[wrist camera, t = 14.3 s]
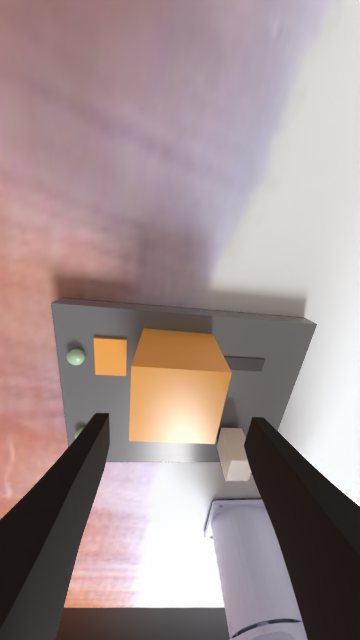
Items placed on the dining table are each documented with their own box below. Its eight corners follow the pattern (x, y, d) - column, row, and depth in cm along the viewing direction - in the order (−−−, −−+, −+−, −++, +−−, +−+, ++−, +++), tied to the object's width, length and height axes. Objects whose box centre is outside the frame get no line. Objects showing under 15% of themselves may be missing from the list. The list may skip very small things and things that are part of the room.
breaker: (241, 428, 19) (255, 460, 16) (236, 447, 19) (248, 481, 17) (221, 427, 18) (231, 460, 16) (216, 446, 19) (225, 481, 16)
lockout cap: (212, 333, 15) (231, 372, 10) (202, 389, 17) (214, 444, 12) (143, 328, 15) (131, 366, 10) (140, 386, 17) (129, 441, 12)
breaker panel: (304, 317, 17) (321, 326, 15) (259, 448, 22) (267, 466, 21) (61, 297, 15) (46, 305, 13) (76, 447, 20) (68, 467, 19)
